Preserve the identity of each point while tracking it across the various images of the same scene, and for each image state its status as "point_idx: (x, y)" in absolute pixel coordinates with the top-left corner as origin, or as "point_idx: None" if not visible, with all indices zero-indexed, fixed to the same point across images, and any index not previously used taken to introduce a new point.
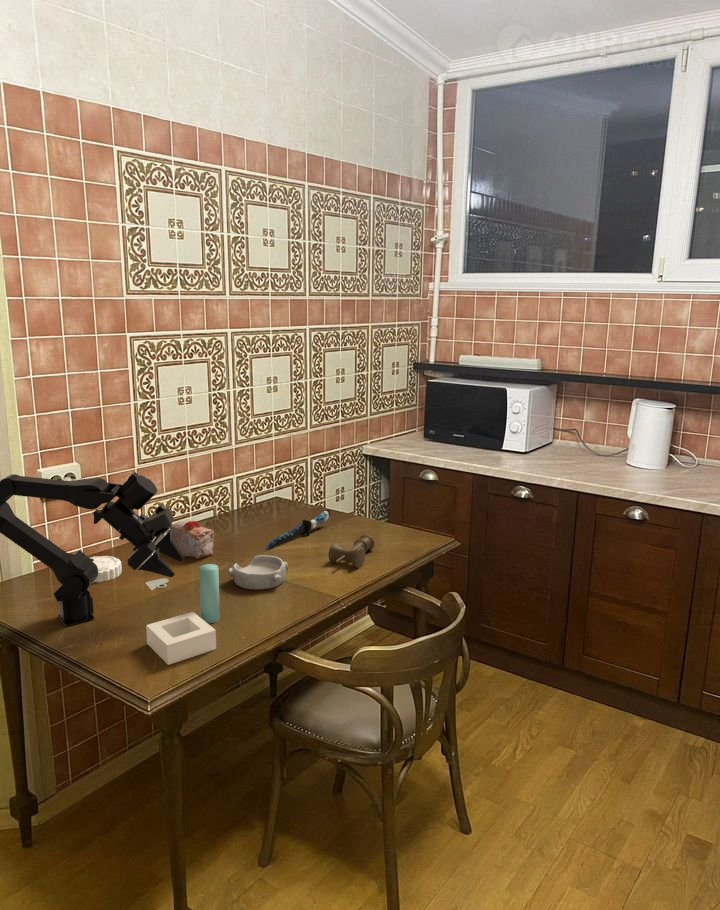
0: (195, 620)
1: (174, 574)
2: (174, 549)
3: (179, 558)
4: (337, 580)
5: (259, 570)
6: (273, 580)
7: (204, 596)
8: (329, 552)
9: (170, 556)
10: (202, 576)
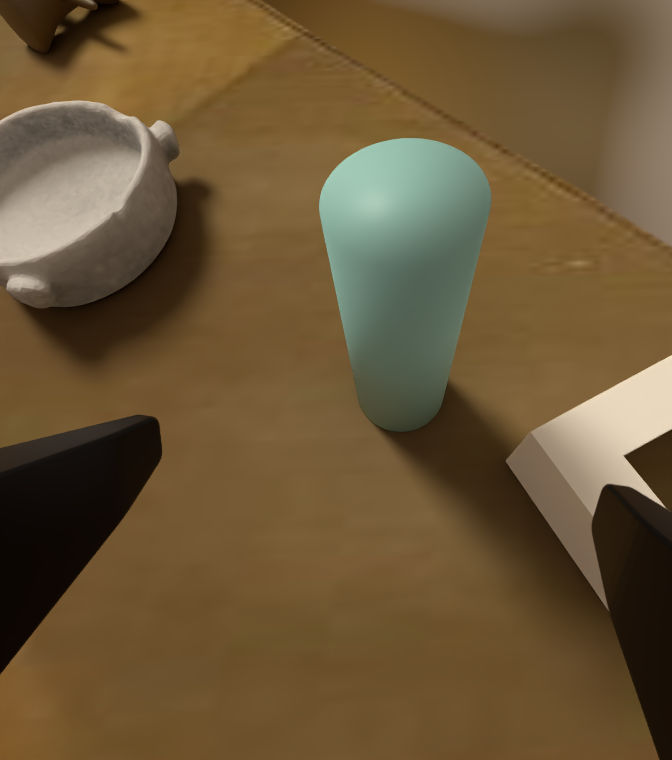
0: (652, 411)
1: (617, 486)
2: (26, 488)
3: (140, 454)
4: (180, 38)
5: (32, 211)
6: (166, 154)
7: (453, 347)
8: (24, 12)
9: (77, 564)
10: (466, 271)
